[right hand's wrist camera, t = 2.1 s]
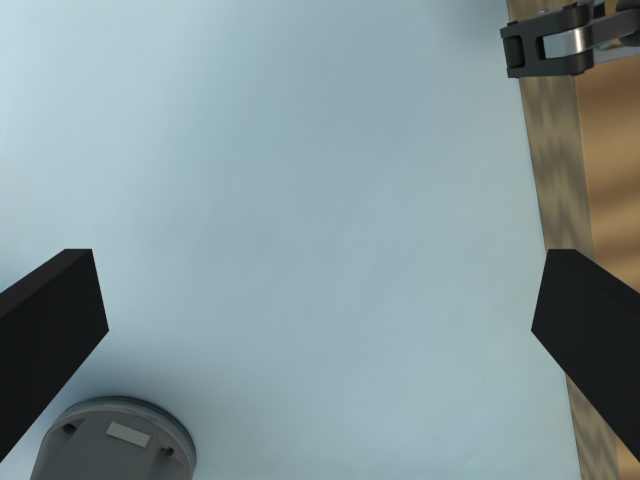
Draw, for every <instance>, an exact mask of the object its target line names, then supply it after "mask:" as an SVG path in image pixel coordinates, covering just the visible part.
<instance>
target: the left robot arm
mask: <svg viewBox="0 0 640 480" xmlns="http://www.w3.org/2000/svg"><path fill="white" fill-rule="evenodd" d="M615 11H618V12H615V13H612V14H609V15H606V14H605V0H573V2H572V3H571V4H569V5H566V6H563V7H560V8H557V9H554V10H551V11H548V9H545V10H542V11H539V12H537V14H538V15H537V16H534V17H531V18H529V19H526V20H523V21H520V22H518V20H515V21H512V22H510V23H507V27H504V28H502V29H500V33H501V39H503V38H504V39H503V45H504V51H505V57H506V63H507V74H508V78H521V77H544V76H566V75H571V77H572V76H578V75H581V74H584V73H585V71H586V70H589V69H591V68H593V67H595V64H599V63H604V62H609V61H614V60H618V59H623V58H628V57H633V56H637V55H640V0H618V2H617V4H616V9H615ZM615 39H619V41H620V42H621V43H622V44H613V43H611V42H610V41H613V40H615Z"/></svg>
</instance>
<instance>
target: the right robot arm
mask: <svg viewBox="0 0 640 480" xmlns="http://www.w3.org/2000/svg"><path fill="white" fill-rule="evenodd" d="M108 331H109V328H108V323H107V319H106V314H105V309H104V304H103V300H102V295H101V290H100V285H99V281H98V276H97V271H96V266H95V262H94V257H93V252H92V249H64V250H63V251H61V252H60V253H58V254H57V255H55V256H54V257H53V258H51V259H50V260H48V261H47V262H45V263H44V264H42V265H41V266H39V267H38V268H37V269H35V270H34V271H32V272H31V273H29V274H28V275H26V276H25V277H23V278H22V279H21V280H19V281H18V282H16V283H15V284H13V285H12V286H10V287H9V288H7V289H6V290H5V291H3V292H2V293H0V463H1V462H2V461H3V459H4V458H5V457H6V456H7V454H8V453H9V452H10V451H11V450H12V448H13V447H14V446H15V445H16V443H17V442H18V441H19V440H20V439H21V437H22V436H23V435H24V434H25V433H26V431H27V430H28V429H29V428H30V426H31V425H32V424H33V423H34V422H35V420H36V419H37V418H38V417H39V415H40V414H41V413H42V412H43V411H44V409H45V408H46V407H47V406H48V405H49V403H50V402H51V401H52V400H53V398H54V397H55V396H56V395H57V394H58V392H59V391H60V390H61V389H62V387H63V386H64V385H65V384H66V383H67V381H68V380H69V379H70V378H71V377H72V375H73V374H74V373H75V372H76V370H77V369H78V368H79V367H80V366H81V364H82V363H83V362H84V361H85V359H86V358H87V357H88V356H89V355H90V353H91V352H92V351H93V350H94V348H95V347H96V346H97V345H98V344H99V342H100V341H101V340H102V339H103V338H104V336H105V335H106V334H107V333H108ZM531 331H532V333H533V334H534V335H535V336H536V338H537V339H538V340H539V341H540V342H541V344H542V345H543V346H544V347H545V348H546V350H547V351H548V352H549V353H550V355H551V356H552V357H553V358H554V359H555V361H556V362H557V363H558V364H559V366H560V367H561V368H562V369H563V370H564V372H565V373H566V374H567V375H568V377H569V378H570V379H571V380H572V381H573V383H574V384H575V385H576V386H577V387H578V389H579V390H580V391H581V392H582V394H583V395H584V396H585V397H586V398H587V400H588V401H589V402H590V403H591V405H592V406H593V407H594V408H595V409H596V411H597V412H598V413H599V414H600V415H601V417H602V418H603V419H604V420H605V422H606V423H607V424H608V425H609V426H610V428H611V429H612V430H613V431H614V433H615V434H616V435H617V436H618V437H619V439H620V440H621V441H622V442H623V443H624V445H625V446H626V447H627V448H628V450H629V451H630V452H631V453H632V454H633V456H634V457H635V458H636V459H637V461H638V462H639V463H640V293H638V292H637V291H635V290H634V289H633V288H631V287H630V286H628V285H627V284H625V283H624V282H622V281H621V280H619V279H618V278H617V277H615V276H614V275H612V274H611V273H609V272H608V271H606V270H605V269H603V268H602V267H601V266H599V265H598V264H596V263H595V262H593V261H592V260H590V259H589V258H587V257H586V256H585V255H583V254H582V253H580V252H579V251H577V250H576V249H548V252H547V257H546V262H545V266H544V271H543V276H542V281H541V285H540V290H539V295H538V300H537V304H536V309H535V314H534V319H533V323H532V328H531ZM195 465H196V454H195V449H194V446H193V443H192V441H191V439H190V437H189V436H188V434H187V432H186V431H185V430H184V428H183V427H182V426H181V425H180V424H179V423H178V422H177V421H176V420H175V419H174V418H172V417H171V416H170V415H168V414H167V413H165V412H164V411H162V410H160V409H158V408H157V407H155V406H152V405H150V404H148V403H145V402H142V401H139V400H135V399H130V398H125V397H113V396H109V397H96V398H91V399H88V400H84V401H81V402H79V403H77V404H75V405H73V406H71V407H70V408H68V409H67V410H65V411H64V412H63V413H62V414H61V415H60V416H59V417H58V419H57V420H56V421H55V422H54V424H53V425H52V426H51V428H50V429H49V430H48V432H47V433H46V435H45V436H44V438H43V440H42V443H41V446H40V450H39V453H38V456H37V459H36V462H35V465H34V468H33V471H32V474H31V477H30V480H191V479H192V476H193V473H194V469H195Z"/></svg>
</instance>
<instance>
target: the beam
mask: <svg viewBox="0 0 640 480" xmlns="http://www.w3.org/2000/svg"><path fill="white" fill-rule="evenodd" d="M572 2H573V0H507V6H508V12H509V18H510V22H512V21H515V20H518V22H520V21H523V20H526V19H529V18H531V17H534V16H537V15H538V14H537V12H539V11H542V10H545V9H548V11H551V10H554V9H557V8H560V7H563V6H566V5H569V4H571V3H572ZM617 2H618V0H605V14H606V15H609V14H612V13H615V12H618V11H615V9H616V4H617ZM610 42H611V43H613V44H622V43H621V42H620V41H619V39H615V40H613V41H610ZM519 82H520V88H521V95H522V101H523V107H524V114H525V120H526V126H527V133H528V139H529V146H530V152H531V158H532V165H533V171H534V177H535V184H536V190H537V196H538V203H539V209H540V215H541V222H542V228H543V235H544V241H545V247H546V254H547V252H548V249H576V250H577V251H579V252H580V253H582V254H583V255H585V256H586V257H587V258H589V259H590V260H592V261H593V262H595V263H596V264H598V265H599V266H601V267H602V268H603V269H605V270H606V271H608V272H609V273H611V274H612V275H614V276H615V277H617V278H618V279H619V280H621V281H622V282H624V283H625V284H627V285H628V286H630V287H631V288H633V289H634V290H635V291H637V292H638V293H640V55H637V56H633V57H628V58H623V59H618V60H614V61H609V62H604V63H599V64H595V67H593V68H591V69H589V70H586V71H585V73H584V74H581V75H578V76H572V77H571V75H566V76H544V77H521V78H519ZM565 374H566V373H565ZM566 381H567V387H568V393H569V400H570V406H571V412H572V419H573V425H574V432H575V438H576V444H577V451H578V457H579V463H580V470H581V476H582V480H640V463H639V462H638V461H637V459H636V458H635V457H634V456H633V454H632V453H631V452H630V451H629V450H628V448H627V447H626V446H625V445H624V443H623V442H622V441H621V440H620V439H619V437H618V436H617V435H616V434H615V433H614V431H613V430H612V429H611V428H610V426H609V425H608V424H607V423H606V422H605V420H604V419H603V418H602V417H601V415H600V414H599V413H598V412H597V411H596V409H595V408H594V407H593V406H592V405H591V403H590V402H589V401H588V400H587V398H586V397H585V396H584V395H583V394H582V392H581V391H580V390H579V389H578V387H577V386H576V385H575V384H574V383H573V381H572V380H571V379H570V378H569V377H568V375H567V374H566Z"/></svg>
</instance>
